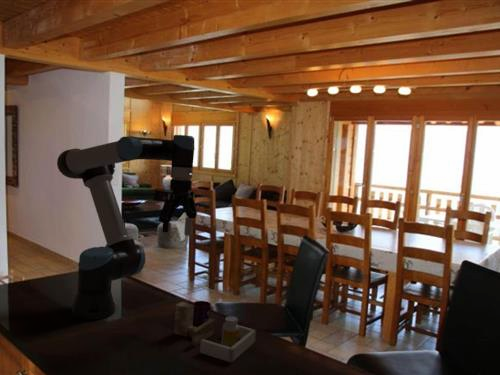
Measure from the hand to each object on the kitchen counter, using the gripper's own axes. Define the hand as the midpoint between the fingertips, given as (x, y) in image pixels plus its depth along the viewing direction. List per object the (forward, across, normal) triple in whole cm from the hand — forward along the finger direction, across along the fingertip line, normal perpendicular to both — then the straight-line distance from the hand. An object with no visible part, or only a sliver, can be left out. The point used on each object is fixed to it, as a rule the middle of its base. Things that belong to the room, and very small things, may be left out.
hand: (177, 238), depth 155 cm
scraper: (+31, -6, -12) cm, 34 cm away
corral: (+31, -6, -26) cm, 41 cm away
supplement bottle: (+31, -6, -27) cm, 41 cm away
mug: (+31, +6, -7) cm, 32 cm away
